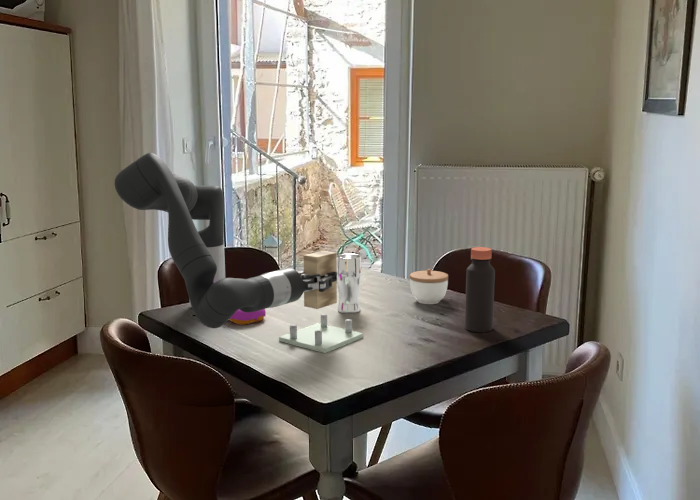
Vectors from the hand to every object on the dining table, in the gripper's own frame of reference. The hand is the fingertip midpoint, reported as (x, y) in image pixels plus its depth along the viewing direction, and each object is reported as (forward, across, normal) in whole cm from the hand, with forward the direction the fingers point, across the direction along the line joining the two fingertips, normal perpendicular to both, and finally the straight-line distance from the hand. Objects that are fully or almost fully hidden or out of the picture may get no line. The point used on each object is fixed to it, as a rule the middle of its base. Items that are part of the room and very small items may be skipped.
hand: (327, 274), depth 165 cm
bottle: (+27, -25, +15) cm, 40 cm away
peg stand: (-2, 0, +15) cm, 15 cm away
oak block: (-3, 0, +7) cm, 7 cm away
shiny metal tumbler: (+21, +10, +15) cm, 28 cm away
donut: (-2, +26, +15) cm, 30 cm away
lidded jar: (+42, -2, +15) cm, 44 cm away
